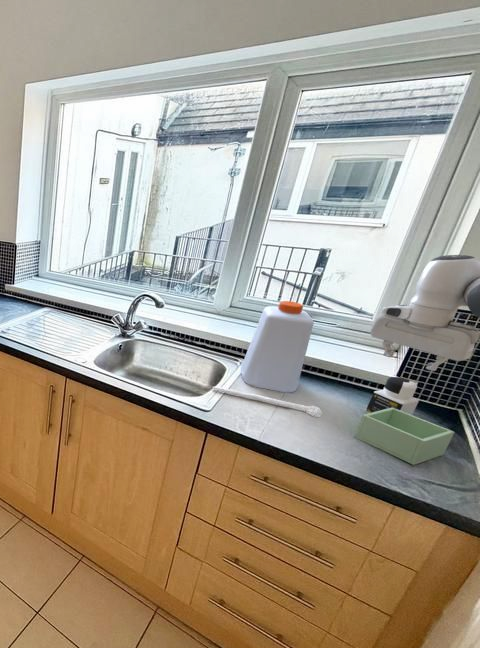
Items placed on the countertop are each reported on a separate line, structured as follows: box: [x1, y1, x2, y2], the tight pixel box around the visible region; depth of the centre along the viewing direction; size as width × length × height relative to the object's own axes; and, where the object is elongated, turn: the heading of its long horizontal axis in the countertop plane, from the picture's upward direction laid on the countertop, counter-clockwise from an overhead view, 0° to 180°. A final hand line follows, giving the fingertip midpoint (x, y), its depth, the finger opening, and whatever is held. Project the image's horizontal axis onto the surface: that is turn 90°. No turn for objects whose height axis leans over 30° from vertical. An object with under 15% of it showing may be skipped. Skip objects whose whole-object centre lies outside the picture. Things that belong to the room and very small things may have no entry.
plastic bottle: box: [240, 300, 315, 394], centre depth 137 cm, size 15×15×28 cm
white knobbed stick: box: [212, 386, 323, 418], centre depth 128 cm, size 28×4×3 cm, turn 58°
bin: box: [354, 407, 455, 466], centre depth 108 cm, size 13×13×7 cm
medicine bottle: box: [365, 376, 420, 415], centre depth 120 cm, size 7×7×12 cm
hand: (408, 362), depth 117 cm, fingers open, 8 cm apart
